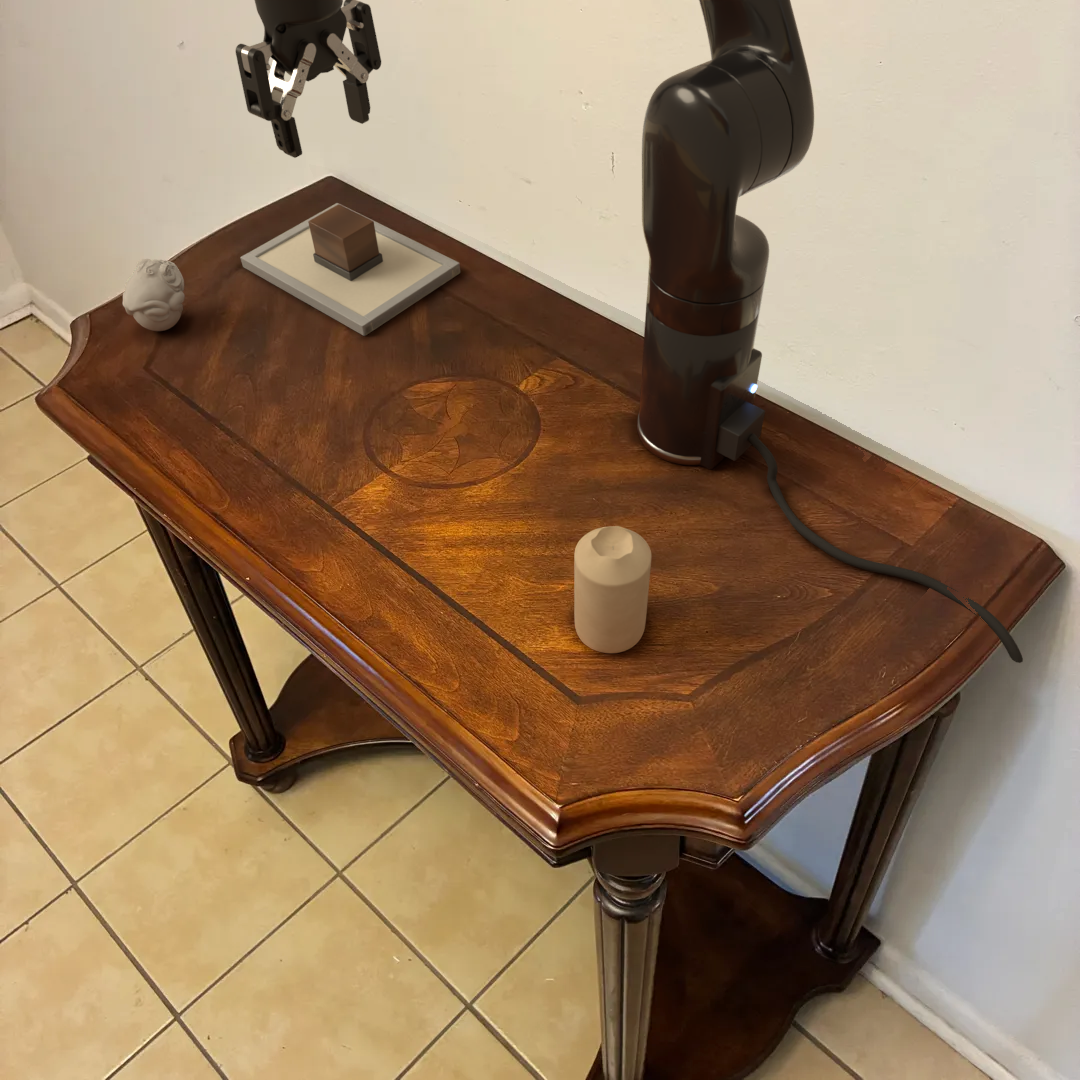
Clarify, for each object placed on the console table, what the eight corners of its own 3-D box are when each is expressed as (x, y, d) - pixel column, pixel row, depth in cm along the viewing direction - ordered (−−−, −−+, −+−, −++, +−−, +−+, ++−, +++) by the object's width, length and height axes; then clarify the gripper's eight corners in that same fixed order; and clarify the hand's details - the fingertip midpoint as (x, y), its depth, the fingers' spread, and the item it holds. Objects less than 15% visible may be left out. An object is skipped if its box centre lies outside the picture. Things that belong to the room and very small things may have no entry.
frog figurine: (209, 312, 105) (189, 255, 100) (168, 350, 101) (145, 293, 96) (163, 299, 107) (141, 243, 102) (120, 337, 103) (96, 279, 98)
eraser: (383, 261, 109) (376, 220, 105) (351, 281, 107) (342, 240, 103) (346, 242, 112) (338, 202, 108) (314, 261, 109) (305, 221, 105)
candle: (646, 654, 75) (655, 572, 68) (574, 654, 75) (574, 572, 68) (643, 597, 79) (650, 512, 71) (574, 597, 79) (574, 512, 71)
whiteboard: (460, 272, 109) (459, 262, 108) (364, 336, 102) (362, 326, 101) (339, 212, 118) (337, 202, 117) (242, 267, 111) (239, 257, 110)
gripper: (250, -14, 78) (295, 178, 90) (381, -65, 85) (407, 119, 97) (193, -33, 82) (244, 154, 94) (323, -81, 89) (355, 99, 101)
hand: (327, 136), depth 96 cm, fingers open, 8 cm apart
